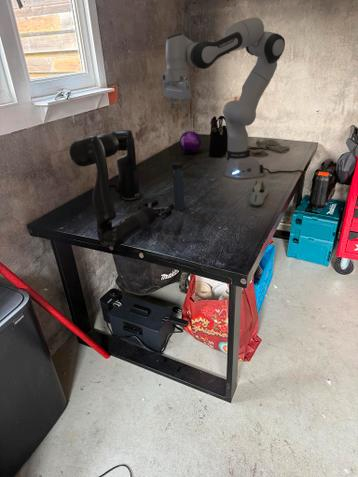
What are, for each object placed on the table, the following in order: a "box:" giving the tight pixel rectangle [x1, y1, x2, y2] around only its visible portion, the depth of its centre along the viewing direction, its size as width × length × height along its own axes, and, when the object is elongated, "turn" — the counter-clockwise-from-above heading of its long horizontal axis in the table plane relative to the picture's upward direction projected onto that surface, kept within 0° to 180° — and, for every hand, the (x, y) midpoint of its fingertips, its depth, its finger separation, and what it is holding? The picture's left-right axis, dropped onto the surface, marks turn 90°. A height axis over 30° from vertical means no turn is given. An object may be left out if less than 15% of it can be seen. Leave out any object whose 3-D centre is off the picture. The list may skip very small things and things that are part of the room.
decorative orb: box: [178, 130, 202, 154], centre depth 230 cm, size 15×15×15 cm
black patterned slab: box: [208, 115, 228, 158], centre depth 222 cm, size 21×9×25 cm, turn 148°
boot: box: [209, 115, 219, 139], centre depth 247 cm, size 9×24×20 cm, turn 168°
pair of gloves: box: [247, 138, 291, 157], centre depth 228 cm, size 30×26×5 cm
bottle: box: [172, 169, 186, 212], centre depth 149 cm, size 4×4×21 cm
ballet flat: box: [249, 179, 269, 207], centre depth 158 cm, size 8×24×8 cm, turn 163°
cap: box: [172, 161, 183, 170], centre depth 144 cm, size 4×4×2 cm
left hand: (165, 204), depth 143 cm, fingers open, 8 cm apart
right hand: (177, 109), depth 154 cm, fingers open, 8 cm apart
